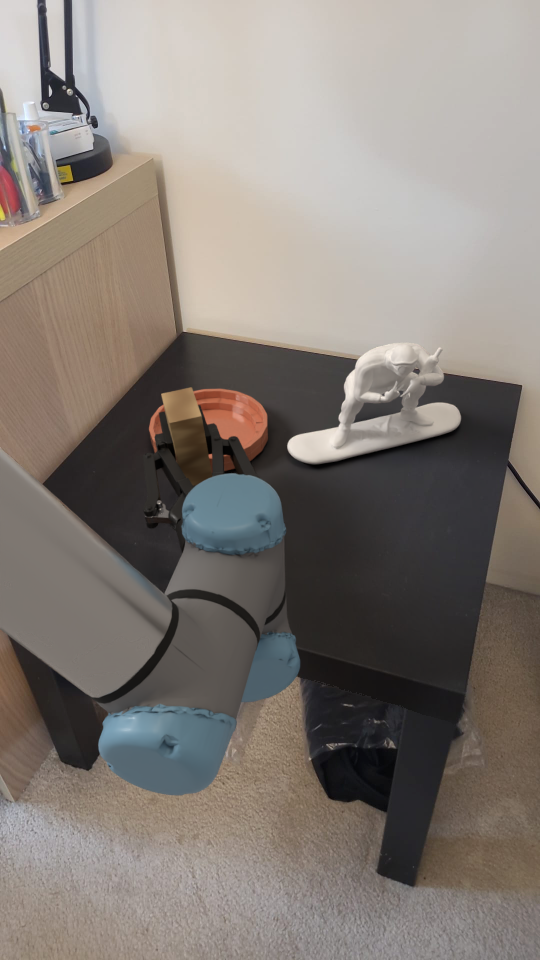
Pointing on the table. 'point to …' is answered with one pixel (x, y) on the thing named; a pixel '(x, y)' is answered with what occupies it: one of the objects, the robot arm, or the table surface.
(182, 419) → the wooden block
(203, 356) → the table surface
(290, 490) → the table surface
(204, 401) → the bowl
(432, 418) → the figurine
